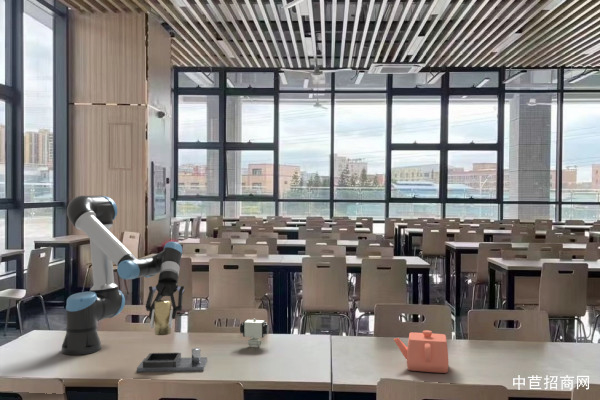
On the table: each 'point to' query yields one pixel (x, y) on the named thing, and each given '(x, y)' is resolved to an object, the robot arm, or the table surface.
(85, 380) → the table surface
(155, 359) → the base
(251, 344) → the pneumatic valve
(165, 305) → the gold tapered block
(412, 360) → the teapot
